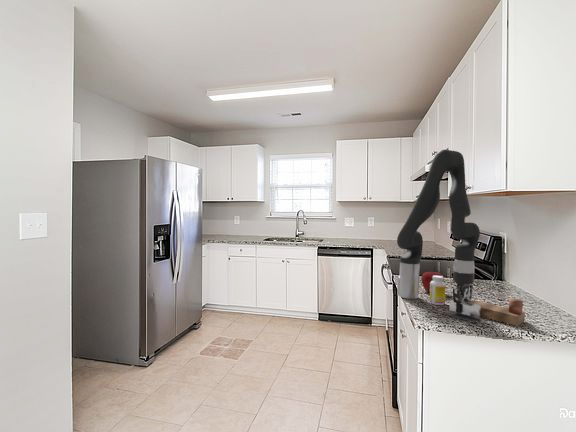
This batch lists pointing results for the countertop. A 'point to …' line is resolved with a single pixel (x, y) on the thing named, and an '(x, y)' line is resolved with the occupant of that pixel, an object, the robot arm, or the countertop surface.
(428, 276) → the apple
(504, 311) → the plane body
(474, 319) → the rubber mat
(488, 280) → the countertop surface
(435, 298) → the supplement bottle
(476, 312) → the lever cap
